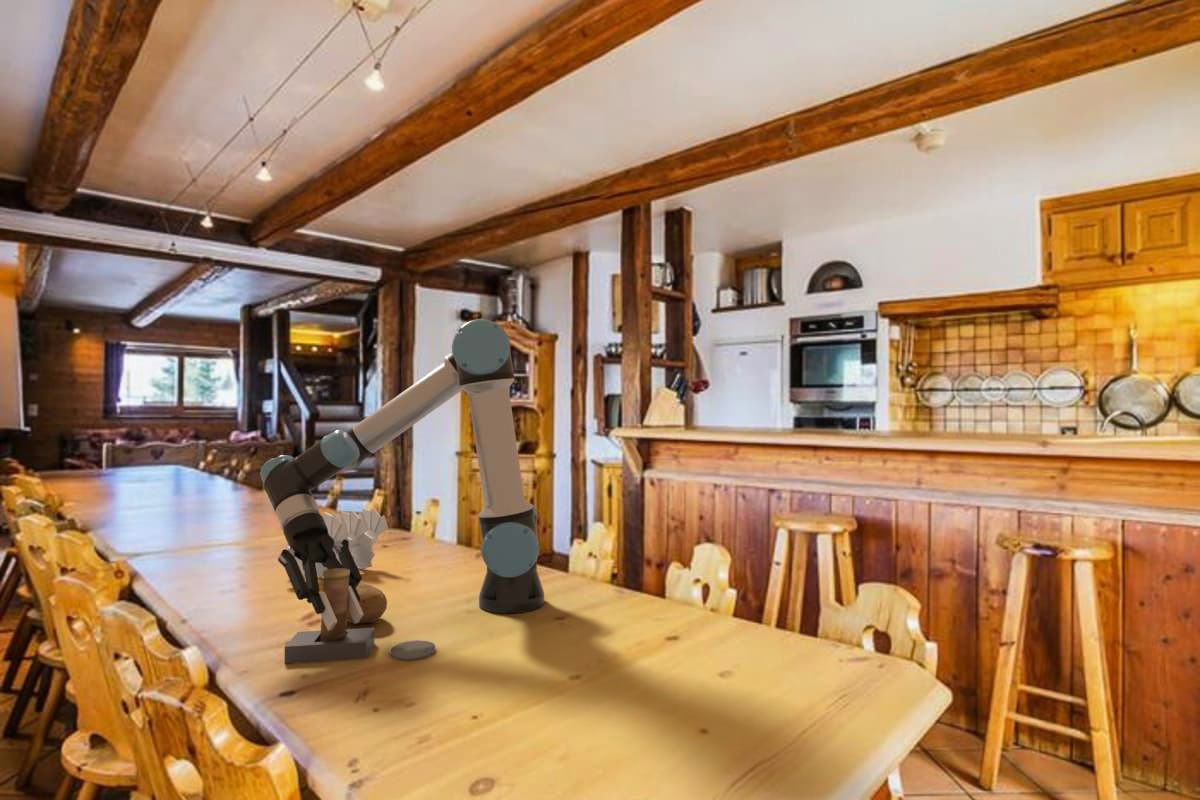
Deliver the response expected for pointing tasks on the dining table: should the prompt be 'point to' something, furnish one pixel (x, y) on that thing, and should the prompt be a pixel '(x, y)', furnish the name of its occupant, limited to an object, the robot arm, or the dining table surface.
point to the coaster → (412, 650)
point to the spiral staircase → (353, 535)
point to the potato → (369, 603)
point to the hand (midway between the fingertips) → (346, 622)
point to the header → (329, 646)
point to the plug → (336, 602)
